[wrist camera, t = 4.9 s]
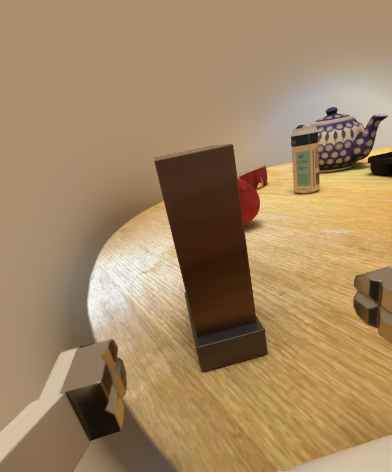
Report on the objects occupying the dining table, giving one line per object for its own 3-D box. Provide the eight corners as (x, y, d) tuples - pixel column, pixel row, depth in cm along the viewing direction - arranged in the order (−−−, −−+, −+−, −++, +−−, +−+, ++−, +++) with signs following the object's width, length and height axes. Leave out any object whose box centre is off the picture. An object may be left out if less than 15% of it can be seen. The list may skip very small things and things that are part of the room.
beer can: (314, 187, 53) (313, 125, 49) (323, 191, 49) (322, 124, 44) (291, 191, 54) (287, 130, 50) (297, 195, 49) (294, 130, 45)
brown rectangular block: (268, 354, 16) (242, 142, 12) (201, 373, 16) (149, 162, 12) (237, 298, 22) (212, 145, 18) (188, 311, 22) (151, 157, 18)
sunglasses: (242, 196, 56) (236, 174, 55) (194, 206, 69) (188, 188, 68) (282, 178, 66) (278, 159, 65) (234, 189, 79) (229, 174, 78)
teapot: (276, 173, 76) (272, 120, 71) (312, 163, 81) (310, 112, 76) (361, 175, 54) (363, 99, 49) (402, 161, 60) (408, 90, 54)
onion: (262, 218, 41) (257, 168, 38) (262, 231, 36) (256, 174, 33) (226, 222, 43) (219, 174, 40) (221, 235, 37) (212, 181, 35)
